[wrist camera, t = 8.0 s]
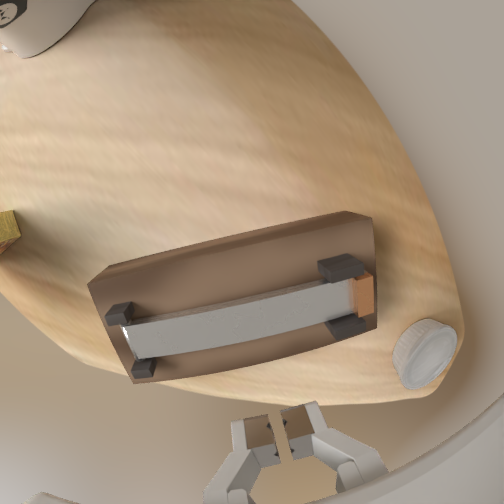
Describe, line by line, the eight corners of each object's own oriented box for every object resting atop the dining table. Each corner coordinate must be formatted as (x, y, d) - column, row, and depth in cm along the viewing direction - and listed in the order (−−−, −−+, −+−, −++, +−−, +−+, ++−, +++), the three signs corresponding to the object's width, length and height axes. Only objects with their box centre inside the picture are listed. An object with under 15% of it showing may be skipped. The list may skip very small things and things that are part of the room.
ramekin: (403, 380, 38) (418, 398, 33) (373, 356, 35) (390, 376, 30) (446, 332, 36) (464, 346, 31) (423, 299, 34) (445, 313, 29)
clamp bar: (121, 318, 23) (113, 330, 21) (361, 265, 23) (372, 272, 21) (137, 355, 24) (131, 368, 22) (363, 305, 25) (373, 315, 22)
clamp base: (109, 265, 28) (71, 297, 19) (344, 210, 29) (390, 223, 20) (144, 353, 31) (126, 403, 22) (354, 305, 32) (391, 342, 23)
